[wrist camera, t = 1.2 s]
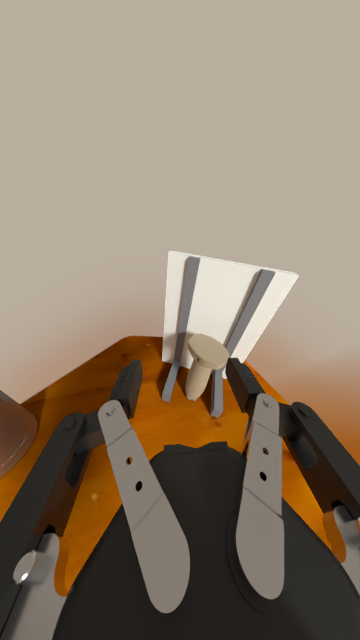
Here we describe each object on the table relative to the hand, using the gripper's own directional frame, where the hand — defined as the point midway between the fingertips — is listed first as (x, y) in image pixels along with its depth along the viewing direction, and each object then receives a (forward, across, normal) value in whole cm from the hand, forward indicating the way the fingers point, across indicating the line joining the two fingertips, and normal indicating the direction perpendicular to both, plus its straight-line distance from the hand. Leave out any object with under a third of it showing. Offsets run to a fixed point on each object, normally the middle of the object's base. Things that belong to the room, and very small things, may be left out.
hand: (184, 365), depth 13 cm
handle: (+10, -3, +19) cm, 21 cm away
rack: (+12, -4, +18) cm, 22 cm away
